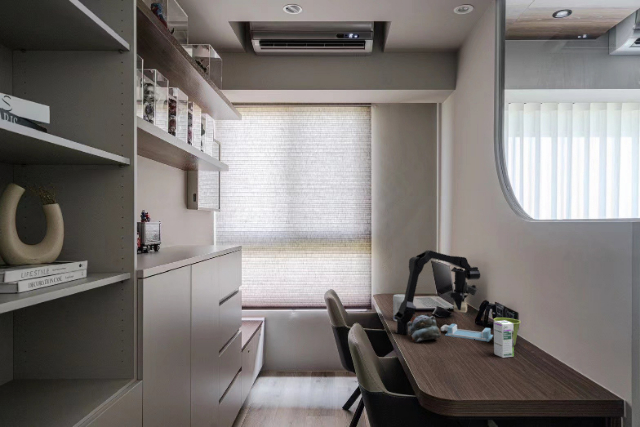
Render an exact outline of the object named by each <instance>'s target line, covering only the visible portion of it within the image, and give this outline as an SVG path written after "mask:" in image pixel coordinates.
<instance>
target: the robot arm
mask: <svg viewBox="0 0 640 427" xmlns="http://www.w3.org/2000/svg"><path fill="white" fill-rule="evenodd" d="M432 259H433V260H437V261H442V262H446V263H448V264H450V265H451V266H453V268H451V270H450V272H453V273H454V282H453V285H454V289H453V291H452V292H451V293H450V295H449V296H450V298H451V299H453V302H454V301H455V303H456V306H457V308H458V310H461V305H462V301H463V302H465V299H466V298H467V297H468V296H469V295H471V296H475V295H477V292H478V288H477V285H475V284H471V285H469V284H468V282H467V280H468V281H473V280H475V281H476V280H480V278H481V273H480V270H479V268H478V266H471V265H470V264H469V262H468V259H467V257H465V256H459V255H458V256H457V255H448V254H444V253H441V252H436V251H433V250H430V249H426V250H425V251H423V252H421V253H419V254H417V255H416V256H412V257H410V258H409V260H408V271H409V275H408V279H407V283H406V289H405V298H404V301H403V302H402V303H401V305H400V308H399V311H398V312H397V313H396V314H395V315H394V317H395V319H396V320H397V322H396V331H394V334H397V335H403V336H407V335H409V334H411V332H410V330H409V327H408V323H409V321H411V320H412V318H413V317H414V316H415V315H416V309H417V306H415V304H414V300H415V295H416V290H417V284H418V280H419V276H420V274H421V273H422V271H423V269H424V267H425V265H426V264H428V263H429V262H430V261H431V260H432Z"/></svg>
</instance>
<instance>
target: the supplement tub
mask: <svg viewBox="0 0 640 427" xmlns="http://www.w3.org/2000/svg"><path fill="white" fill-rule="evenodd" d="M404 298H405V294H401V293H398V294H394V295H392V316H393V317H392V318H393V321H394V322H396V323H397V320H396V319H395V317H394V315H395V314H396V313H397V312H398V311H399V308H400V305H401V303H402V302H403V301H404Z"/></svg>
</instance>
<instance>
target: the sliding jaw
mask: <svg viewBox="0 0 640 427" xmlns="http://www.w3.org/2000/svg"><path fill="white" fill-rule="evenodd" d="M457 329H458V324H456V323H451V324H450V325H447V324H444V325H442V326H441V327H440V331H441V332H444V331H446V332H448V333H450V334H454V333H455V332H456V331H457Z"/></svg>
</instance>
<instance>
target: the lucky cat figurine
mask: <svg viewBox="0 0 640 427" xmlns="http://www.w3.org/2000/svg"><path fill="white" fill-rule="evenodd" d="M408 331H410V334H411V341H412V342H414V343H418V342H422V341H423V342H424V341H426V340H437V339H440V338H441V337H442V331H441V328H439V327H438V325H437V321H436V317H435V315H434V316H433V315H431V316H430V315H429V314H428V313H425V314H424V315H423V314H421V315H418V316H415V317H414V316H413V317H412V318H411V321H409V323H408Z"/></svg>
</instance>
